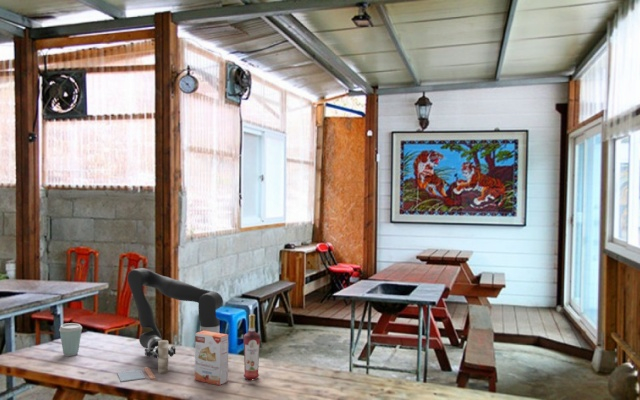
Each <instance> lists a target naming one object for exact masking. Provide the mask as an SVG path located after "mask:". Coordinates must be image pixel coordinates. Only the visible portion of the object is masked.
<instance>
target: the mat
mask: <svg viewBox="0 0 640 400" xmlns="http://www.w3.org/2000/svg"><path fill="white" fill-rule="evenodd" d="M116 374H117V377H118V379H119V381H120V383H125V382H131V381H137V380H145V379H146V377H145V376H144V374H143V372H142V369H135V370H129V371H128V370H127V371H121V372H117V373H116Z"/></svg>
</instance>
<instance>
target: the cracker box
mask: <svg viewBox="0 0 640 400" xmlns="http://www.w3.org/2000/svg"><path fill="white" fill-rule="evenodd" d="M194 336H195V340H194V342H195V347H194V381H199V382H202V383H203V382H204V383H207V384H212V385H215V384H216V385H215V386H221V384H222V385H224V384H226V383H228V381H229V334H227V333H220V332H219V333H216V332H210V331H201V332H200V331H198V332H195V334H194Z"/></svg>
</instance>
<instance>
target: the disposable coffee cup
mask: <svg viewBox="0 0 640 400" xmlns="http://www.w3.org/2000/svg"><path fill="white" fill-rule="evenodd" d="M82 330H83V326H82V325H81V324H80V323H76V322H75V323H73V322H70V323H69V322H68V323H63V324H61V325H60V326H59V328H58V331H59V334H60V336H59V337H60V340H61V349H62V352H63V355H64V356H65V357H71V356H77V355H78V353H79V352H80V351H79V349H80V344H81V337H82Z"/></svg>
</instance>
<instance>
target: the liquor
mask: <svg viewBox="0 0 640 400" xmlns="http://www.w3.org/2000/svg"><path fill="white" fill-rule="evenodd" d="M248 321H249V323H248V324H249V325H248V332H246V333H245V334H244V335H243V355H244V357H243V359H244V361H243V362H244V364H243V365H244V374H243V377H244V379H246V380H247V379H249V380H248V381H253V380H252V379H255V380H257V378H259V377H260V374H259V364H260V363H259V359H260V348H261V344H260V343H261V334H259V333H258V332H256V324H255V321H256V314H249V315H248Z"/></svg>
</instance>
